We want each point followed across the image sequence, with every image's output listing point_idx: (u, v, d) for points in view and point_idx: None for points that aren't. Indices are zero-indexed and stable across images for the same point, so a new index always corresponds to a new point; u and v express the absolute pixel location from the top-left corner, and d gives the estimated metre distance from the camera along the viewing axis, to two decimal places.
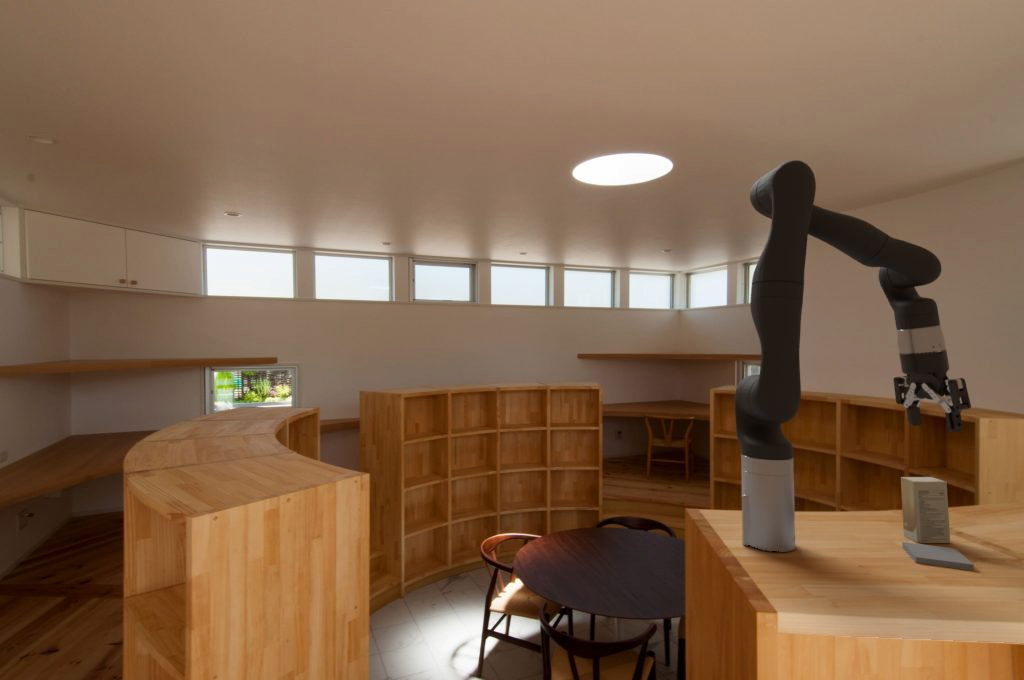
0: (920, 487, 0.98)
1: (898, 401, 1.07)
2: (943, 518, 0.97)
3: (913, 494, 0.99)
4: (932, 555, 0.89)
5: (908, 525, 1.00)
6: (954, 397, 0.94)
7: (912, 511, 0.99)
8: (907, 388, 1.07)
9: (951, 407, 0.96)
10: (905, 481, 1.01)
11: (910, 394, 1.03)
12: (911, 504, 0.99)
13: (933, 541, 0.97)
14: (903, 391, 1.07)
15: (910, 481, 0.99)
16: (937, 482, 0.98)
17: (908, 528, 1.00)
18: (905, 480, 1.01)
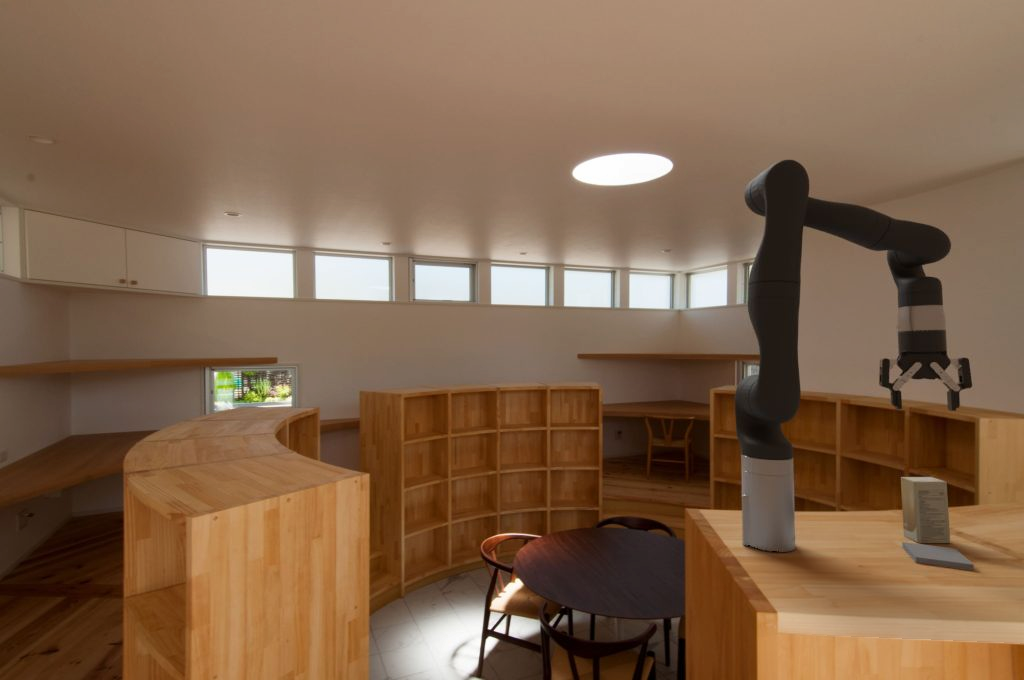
0: (920, 487, 0.98)
1: (886, 384, 1.01)
2: (943, 518, 0.97)
3: (913, 494, 0.99)
4: (932, 555, 0.89)
5: (908, 525, 1.00)
6: (967, 375, 0.96)
7: (912, 511, 0.99)
8: None
9: (958, 386, 0.96)
10: (905, 481, 1.01)
11: (909, 375, 0.99)
12: (911, 504, 0.99)
13: (933, 541, 0.97)
14: None
15: (910, 481, 0.99)
16: (937, 482, 0.98)
17: (908, 528, 1.00)
18: (905, 480, 1.01)
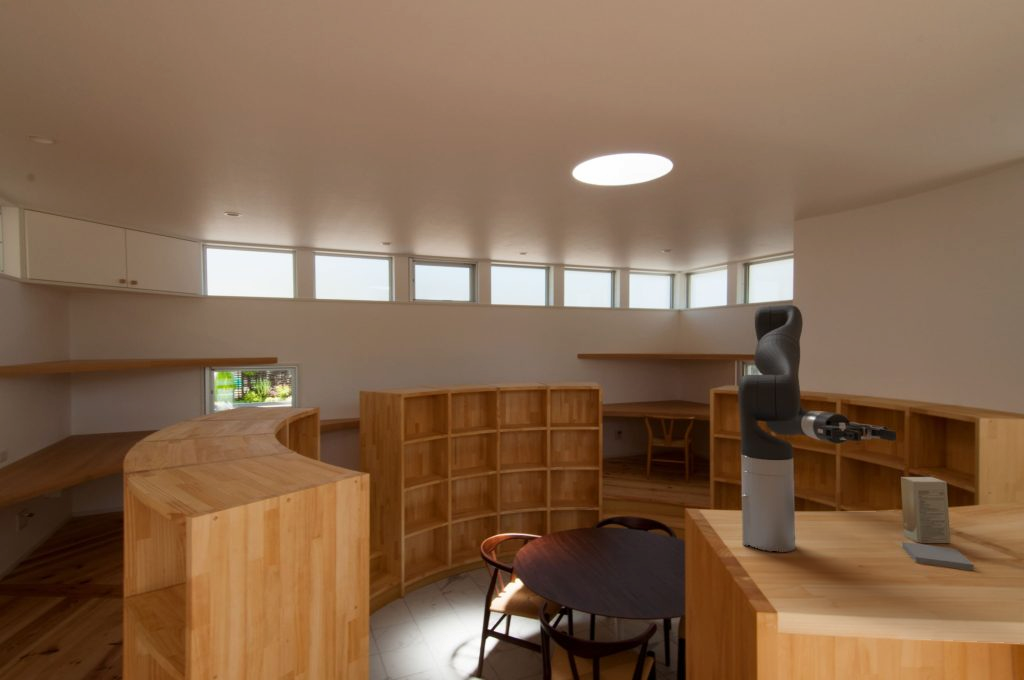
0: (920, 487, 0.98)
1: (834, 428, 1.16)
2: (943, 518, 0.97)
3: (913, 494, 0.99)
4: (932, 555, 0.89)
5: (908, 525, 1.00)
6: (878, 426, 1.19)
7: (912, 511, 0.99)
8: None
9: None
10: (905, 481, 1.01)
11: (843, 424, 1.18)
12: (911, 504, 0.99)
13: (933, 541, 0.97)
14: None
15: (910, 481, 0.99)
16: (937, 482, 0.98)
17: (908, 528, 1.00)
18: (905, 480, 1.01)
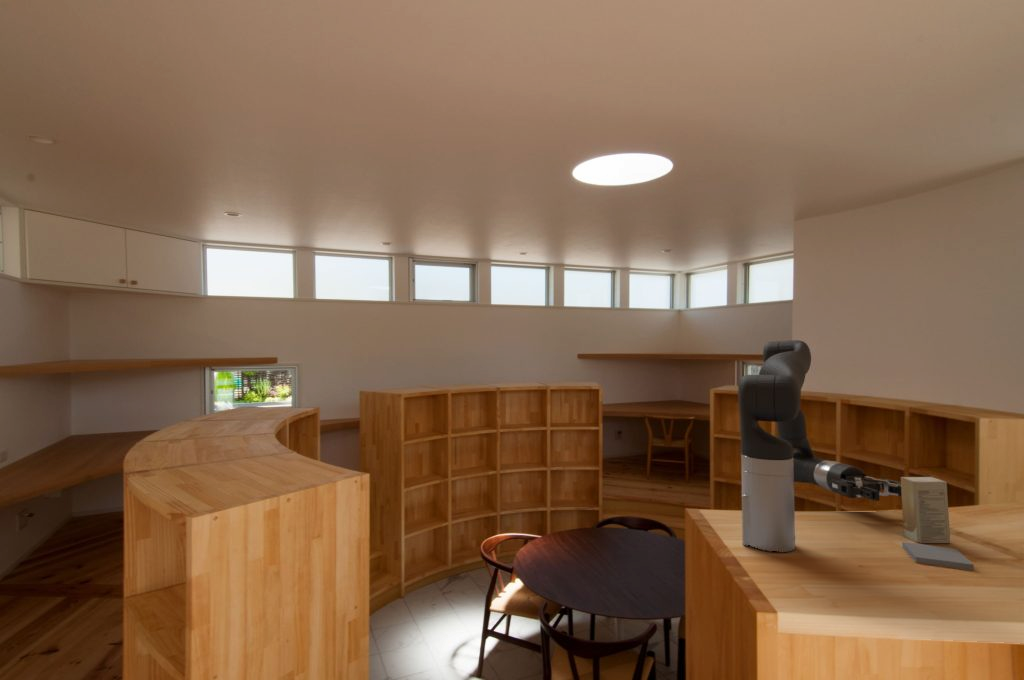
0: (920, 487, 0.98)
1: (850, 484, 1.11)
2: (943, 518, 0.97)
3: (913, 494, 0.99)
4: (932, 555, 0.89)
5: (908, 525, 1.00)
6: (895, 481, 1.14)
7: (912, 511, 0.99)
8: None
9: None
10: (905, 481, 1.01)
11: (859, 480, 1.13)
12: (911, 504, 0.99)
13: (933, 541, 0.97)
14: None
15: (910, 481, 0.99)
16: (937, 482, 0.98)
17: (908, 528, 1.00)
18: (905, 480, 1.01)
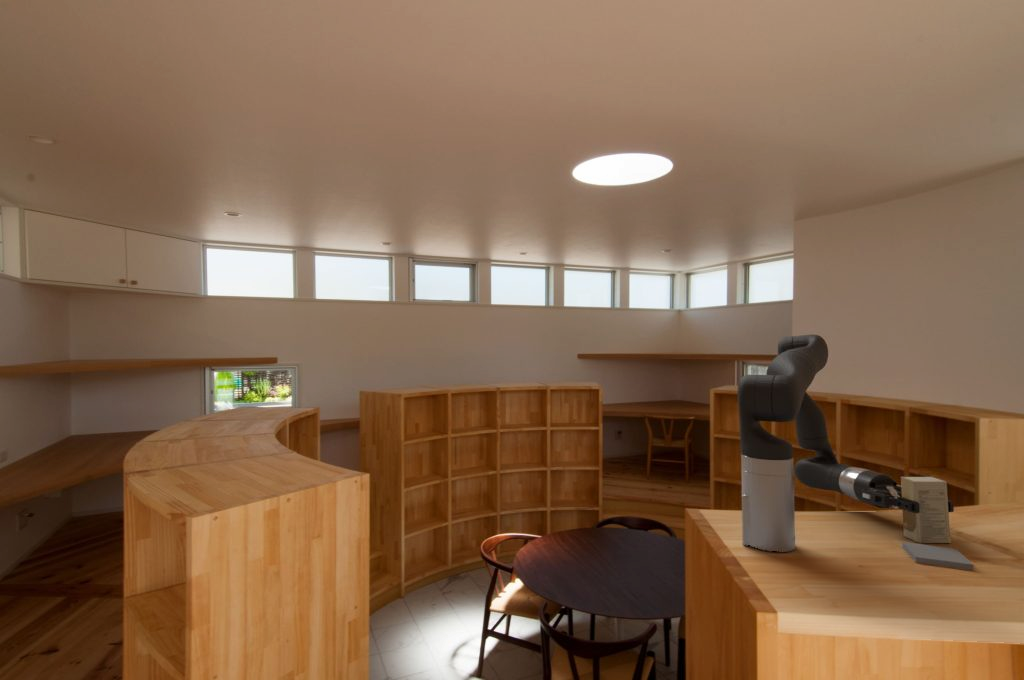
0: (920, 487, 0.98)
1: (885, 494, 1.02)
2: (943, 517, 0.97)
3: (913, 493, 0.99)
4: (932, 555, 0.89)
5: (908, 525, 1.00)
6: None
7: None
8: None
9: None
10: (905, 481, 1.01)
11: (892, 489, 1.05)
12: None
13: (933, 541, 0.97)
14: None
15: (910, 481, 0.99)
16: (937, 482, 0.98)
17: (908, 528, 1.00)
18: (905, 480, 1.01)
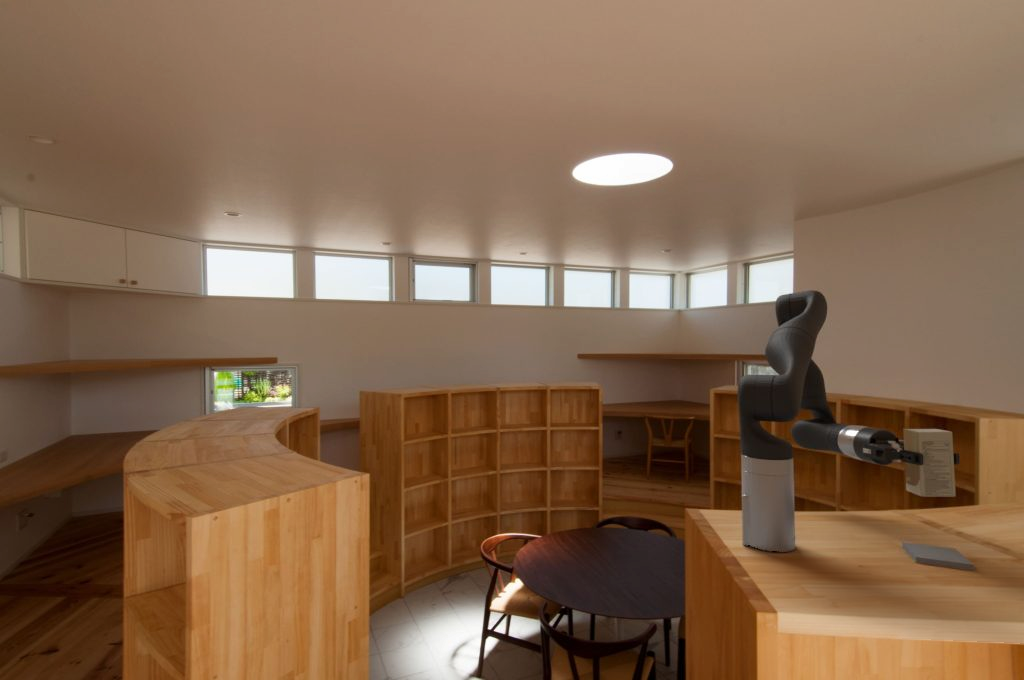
0: (924, 438, 0.92)
1: (887, 448, 0.96)
2: (948, 470, 0.92)
3: (916, 445, 0.93)
4: (932, 555, 0.89)
5: (911, 479, 0.95)
6: None
7: None
8: None
9: None
10: (908, 433, 0.95)
11: (894, 443, 0.99)
12: None
13: (937, 495, 0.92)
14: None
15: (913, 432, 0.94)
16: (942, 432, 0.92)
17: (911, 482, 0.95)
18: (908, 432, 0.95)
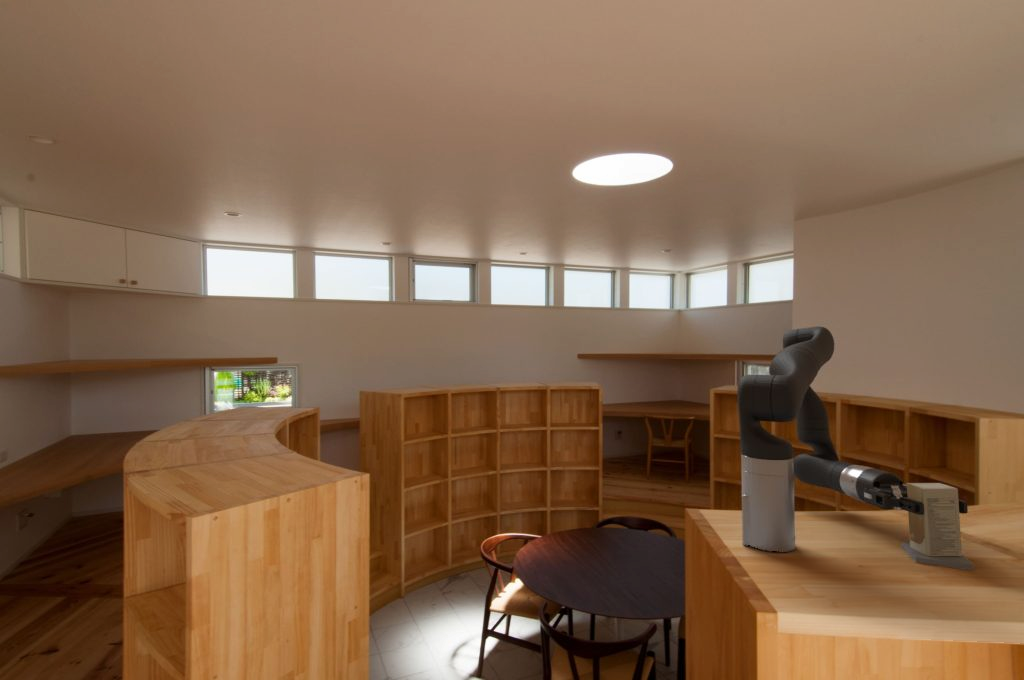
0: (929, 495, 0.89)
1: (887, 494, 0.93)
2: (954, 528, 0.88)
3: None
4: None
5: (916, 536, 0.91)
6: None
7: (919, 520, 0.90)
8: None
9: None
10: (912, 488, 0.92)
11: (896, 489, 0.95)
12: None
13: (943, 554, 0.88)
14: None
15: (918, 488, 0.90)
16: (947, 489, 0.89)
17: (915, 539, 0.91)
18: (912, 487, 0.92)
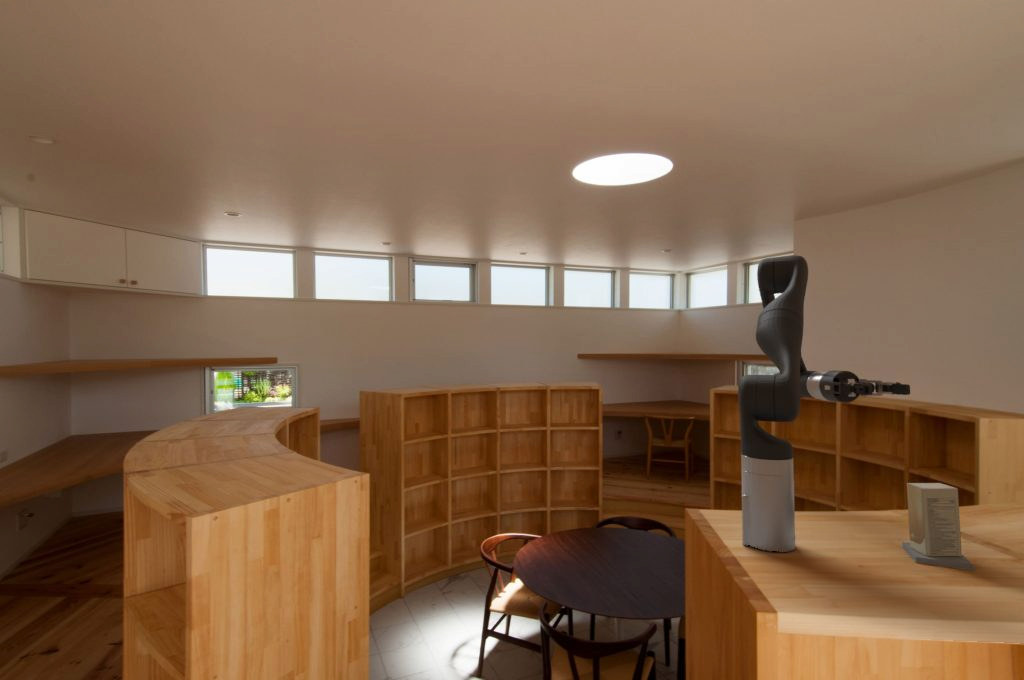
0: (929, 495, 0.89)
1: None
2: (954, 528, 0.88)
3: (921, 502, 0.89)
4: None
5: (916, 536, 0.91)
6: (889, 382, 1.11)
7: (919, 520, 0.90)
8: None
9: None
10: (912, 488, 0.92)
11: (852, 380, 1.10)
12: (919, 513, 0.90)
13: (943, 554, 0.88)
14: None
15: (918, 488, 0.90)
16: (947, 489, 0.89)
17: (915, 539, 0.91)
18: (912, 487, 0.92)
